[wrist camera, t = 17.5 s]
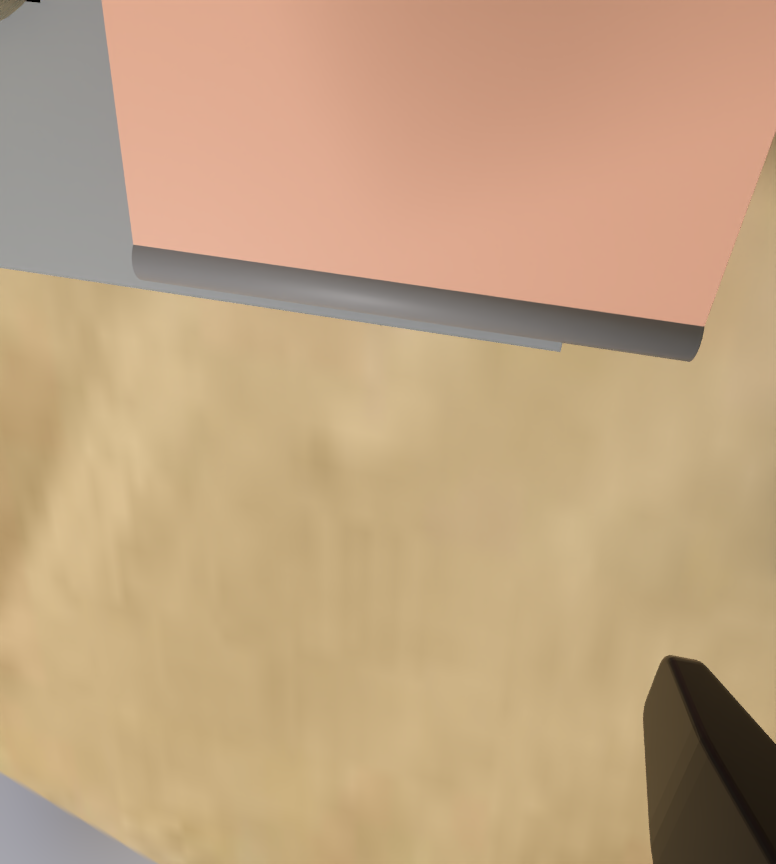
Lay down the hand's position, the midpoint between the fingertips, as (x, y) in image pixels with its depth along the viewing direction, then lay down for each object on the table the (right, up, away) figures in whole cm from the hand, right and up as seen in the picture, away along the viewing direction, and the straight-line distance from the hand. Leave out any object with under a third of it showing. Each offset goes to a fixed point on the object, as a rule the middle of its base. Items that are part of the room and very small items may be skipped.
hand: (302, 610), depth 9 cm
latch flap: (+2, +5, +6) cm, 8 cm away
